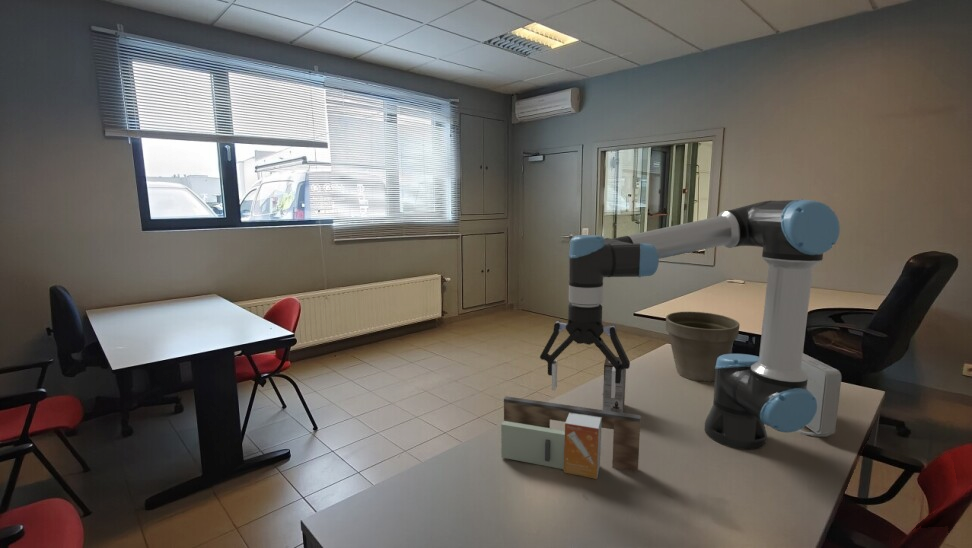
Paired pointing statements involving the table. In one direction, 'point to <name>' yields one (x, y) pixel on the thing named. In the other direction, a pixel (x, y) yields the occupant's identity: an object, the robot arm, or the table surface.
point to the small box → (582, 445)
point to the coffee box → (618, 401)
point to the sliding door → (532, 444)
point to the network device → (822, 395)
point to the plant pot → (700, 342)
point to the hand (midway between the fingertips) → (583, 392)
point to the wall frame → (620, 422)
